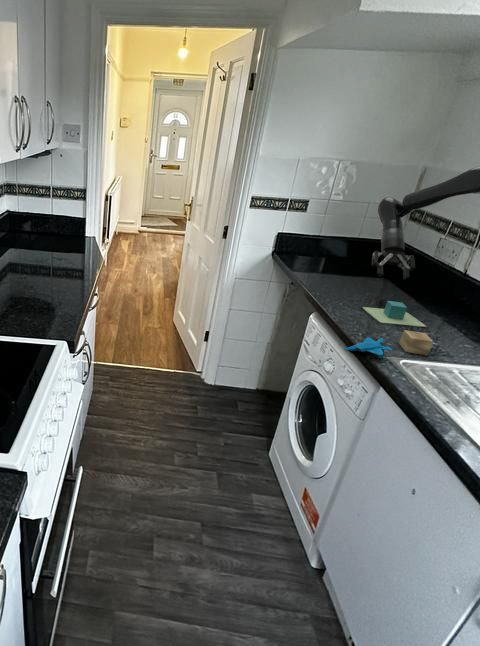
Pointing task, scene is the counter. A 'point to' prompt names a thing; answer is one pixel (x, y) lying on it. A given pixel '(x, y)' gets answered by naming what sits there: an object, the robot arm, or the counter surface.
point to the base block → (415, 342)
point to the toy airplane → (370, 347)
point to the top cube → (395, 310)
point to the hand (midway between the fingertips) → (393, 277)
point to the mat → (382, 318)
